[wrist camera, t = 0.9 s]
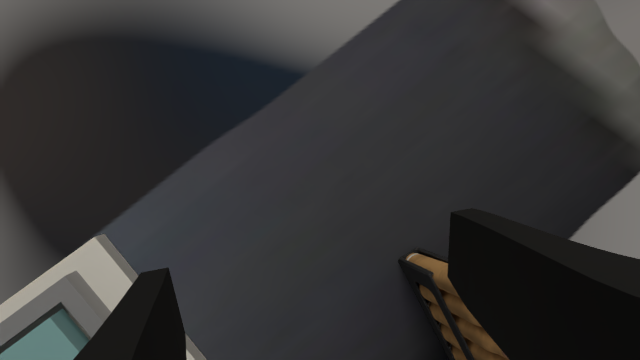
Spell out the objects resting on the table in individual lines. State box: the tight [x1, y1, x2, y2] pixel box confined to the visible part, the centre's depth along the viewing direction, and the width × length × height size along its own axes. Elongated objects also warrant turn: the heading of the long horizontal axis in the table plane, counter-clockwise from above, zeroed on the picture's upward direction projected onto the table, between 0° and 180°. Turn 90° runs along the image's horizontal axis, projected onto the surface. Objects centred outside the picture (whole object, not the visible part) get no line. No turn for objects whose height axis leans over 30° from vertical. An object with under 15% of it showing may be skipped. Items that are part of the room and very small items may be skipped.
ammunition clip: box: [398, 247, 509, 360], centre depth 27 cm, size 11×2×12 cm, turn 28°
